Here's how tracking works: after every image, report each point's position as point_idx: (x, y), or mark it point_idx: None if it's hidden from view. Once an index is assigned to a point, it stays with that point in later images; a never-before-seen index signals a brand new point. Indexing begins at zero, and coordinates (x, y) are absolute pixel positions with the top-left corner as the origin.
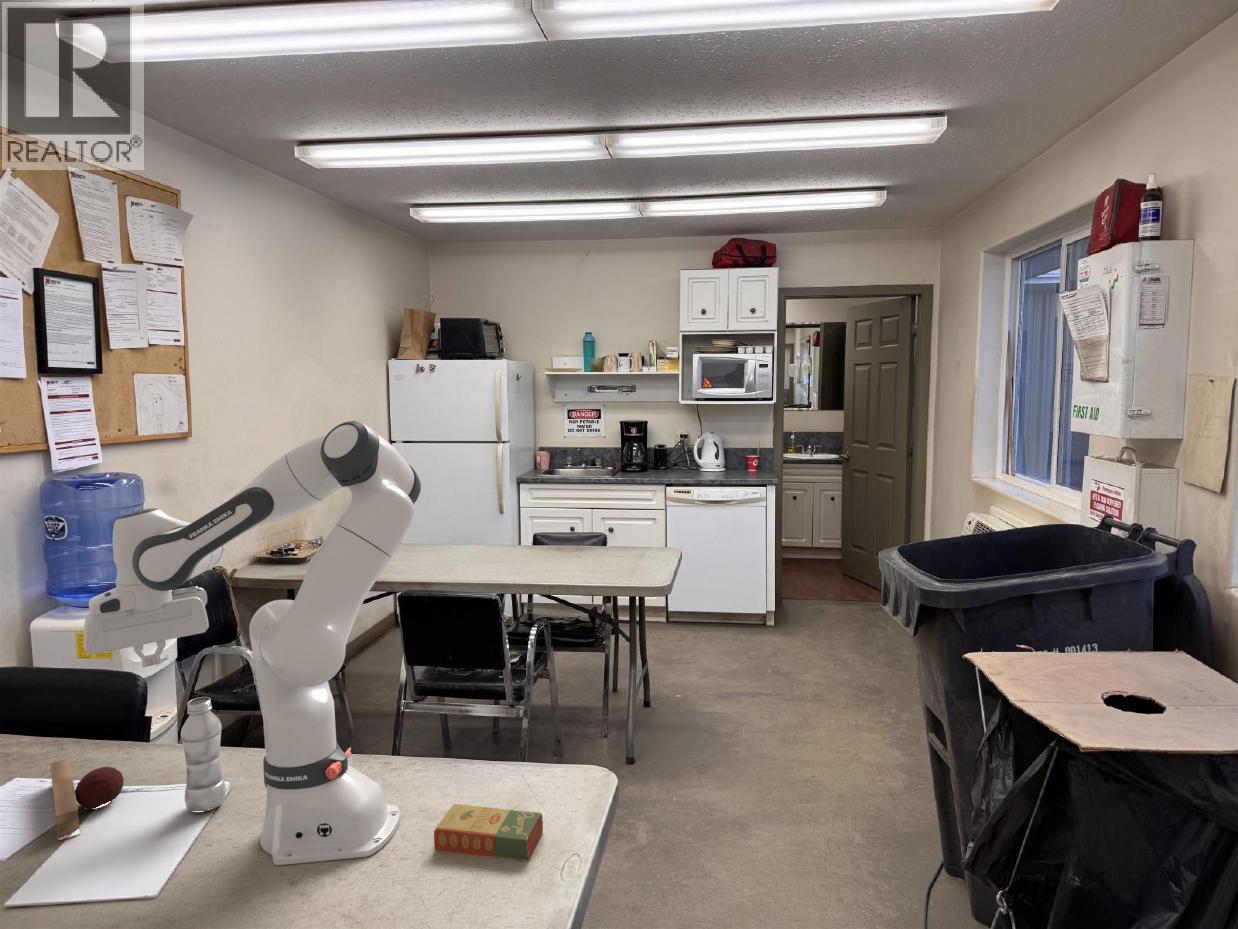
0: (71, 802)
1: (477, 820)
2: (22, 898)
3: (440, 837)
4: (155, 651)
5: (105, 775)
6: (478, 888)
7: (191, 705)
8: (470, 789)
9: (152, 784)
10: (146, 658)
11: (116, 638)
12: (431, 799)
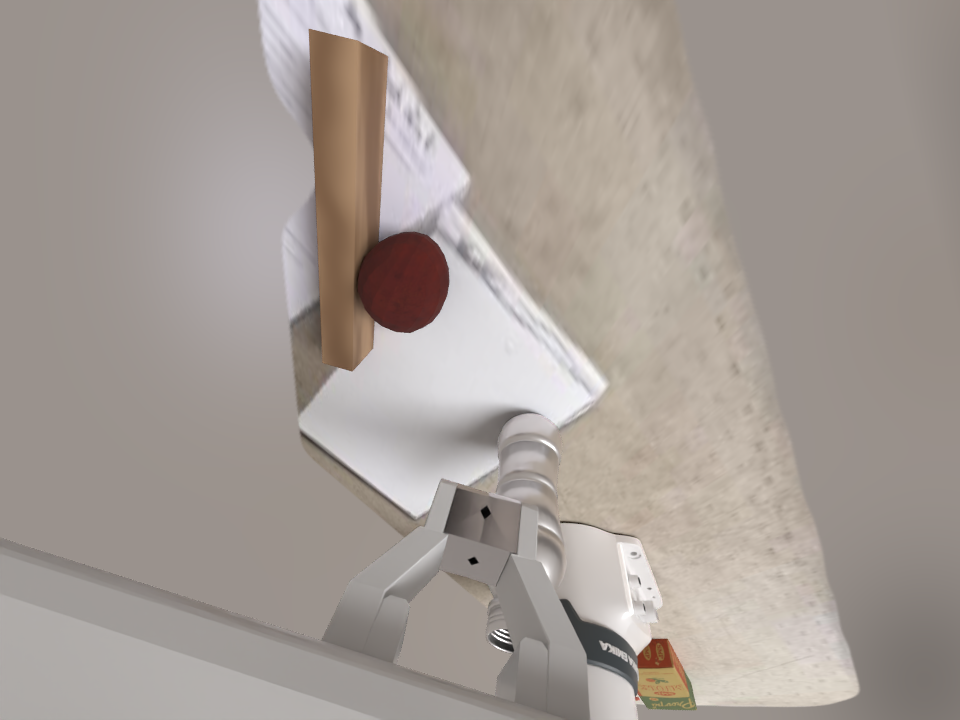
0: (345, 338)
1: (653, 686)
2: (309, 427)
3: None
4: (517, 570)
5: (398, 327)
6: None
7: (489, 643)
8: (747, 630)
9: (513, 271)
10: (440, 569)
11: None
12: (704, 611)
